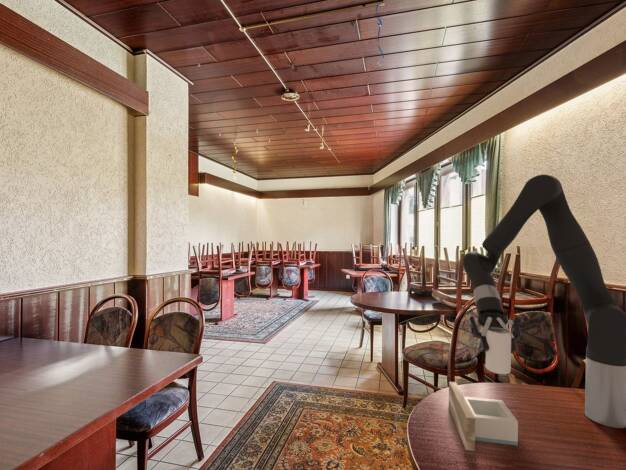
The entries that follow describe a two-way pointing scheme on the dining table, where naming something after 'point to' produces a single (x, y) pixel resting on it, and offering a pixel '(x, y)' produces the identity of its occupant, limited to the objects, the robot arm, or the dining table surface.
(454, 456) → the dining table surface
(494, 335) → the can
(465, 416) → the stop board
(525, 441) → the dining table surface
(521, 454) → the dining table surface
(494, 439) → the socket block
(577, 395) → the dining table surface
